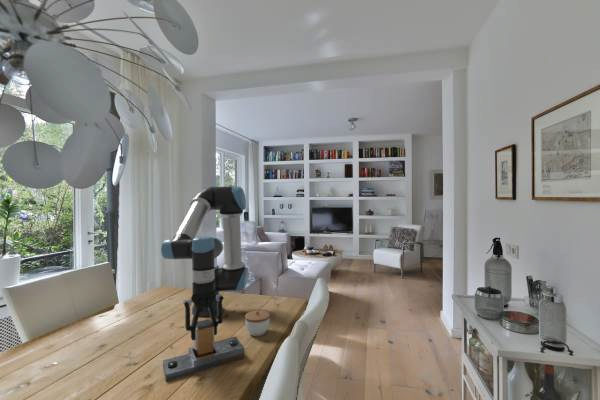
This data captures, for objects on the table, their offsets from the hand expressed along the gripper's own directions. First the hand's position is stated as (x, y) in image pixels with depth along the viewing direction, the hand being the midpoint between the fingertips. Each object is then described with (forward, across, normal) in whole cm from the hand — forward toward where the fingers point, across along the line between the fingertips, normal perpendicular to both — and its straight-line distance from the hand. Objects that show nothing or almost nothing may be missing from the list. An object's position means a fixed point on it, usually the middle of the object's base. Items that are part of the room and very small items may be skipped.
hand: (204, 346), depth 105 cm
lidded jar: (+6, +25, +12) cm, 28 cm away
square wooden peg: (+4, 0, 0) cm, 4 cm away
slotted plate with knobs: (+6, 0, 0) cm, 6 cm away
